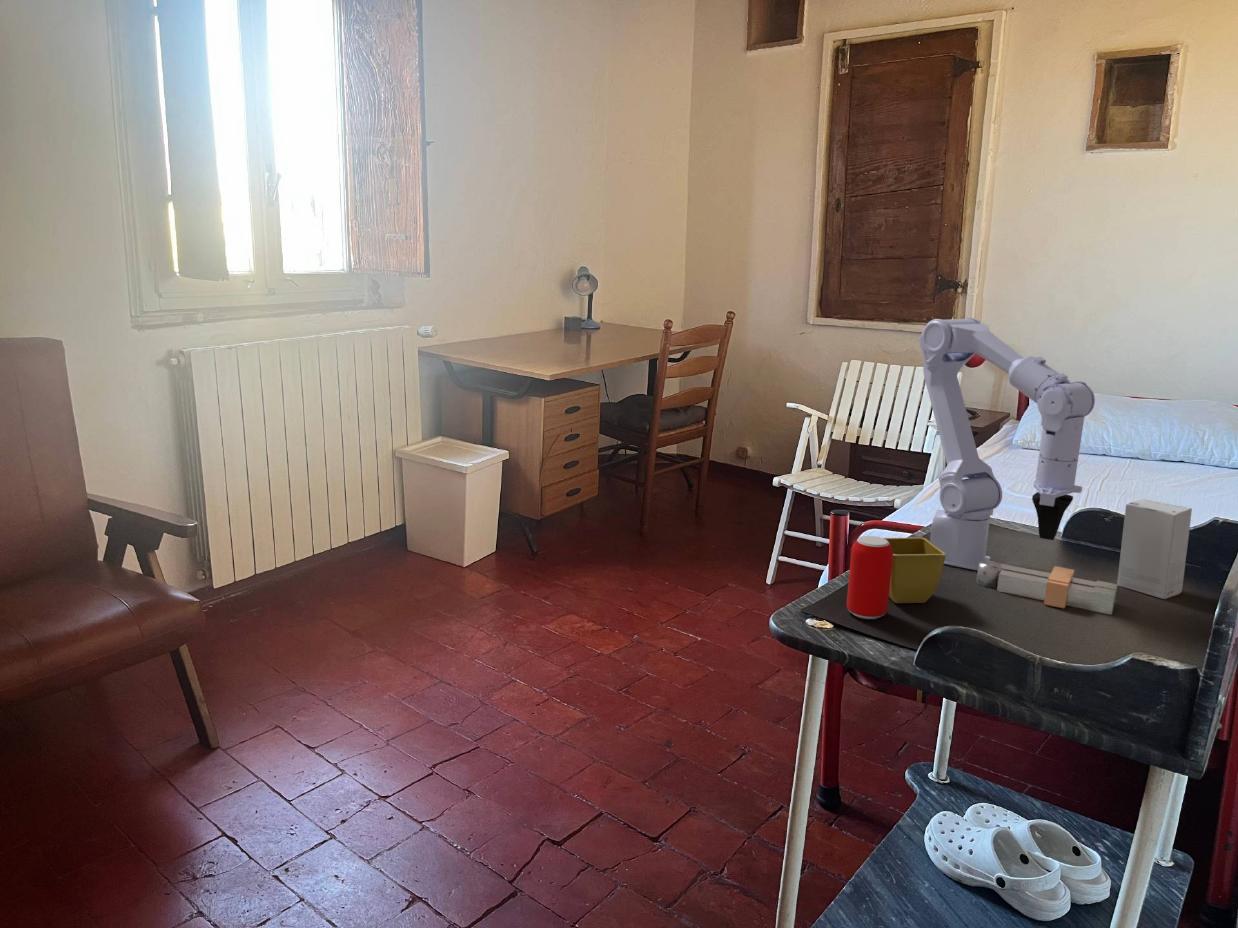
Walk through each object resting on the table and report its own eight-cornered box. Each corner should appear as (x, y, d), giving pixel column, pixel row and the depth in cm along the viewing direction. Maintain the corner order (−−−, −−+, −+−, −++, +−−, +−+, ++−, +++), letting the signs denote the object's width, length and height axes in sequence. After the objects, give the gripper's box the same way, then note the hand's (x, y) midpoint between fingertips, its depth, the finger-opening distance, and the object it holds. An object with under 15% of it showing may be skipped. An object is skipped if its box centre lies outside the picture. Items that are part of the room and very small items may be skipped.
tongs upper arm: (974, 584, 154) (976, 564, 153) (980, 575, 158) (982, 556, 157) (1112, 612, 144) (1115, 591, 143) (1114, 602, 147) (1118, 582, 147)
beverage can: (840, 615, 140) (846, 541, 137) (854, 603, 145) (861, 531, 142) (878, 625, 137) (886, 549, 134) (892, 612, 142) (899, 539, 139)
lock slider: (1043, 604, 146) (1047, 580, 145) (1051, 588, 153) (1054, 565, 152) (1064, 608, 144) (1068, 584, 143) (1071, 592, 151) (1074, 569, 150)
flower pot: (868, 588, 152) (873, 536, 149) (919, 587, 152) (924, 536, 150) (887, 609, 143) (893, 555, 141) (941, 608, 144) (947, 554, 142)
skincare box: (1181, 594, 152) (1197, 508, 148) (1163, 601, 149) (1178, 514, 145) (1131, 578, 159) (1144, 496, 155) (1112, 584, 155) (1125, 501, 152)
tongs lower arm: (996, 591, 151) (998, 573, 151) (999, 586, 154) (1002, 568, 153) (1111, 614, 143) (1114, 595, 142) (1113, 609, 145) (1116, 590, 144)
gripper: (1080, 470, 138) (1068, 554, 141) (1091, 452, 150) (1079, 531, 153) (1030, 463, 142) (1019, 546, 145) (1044, 446, 154) (1034, 523, 157)
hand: (1047, 538), depth 149 cm, fingers closed
